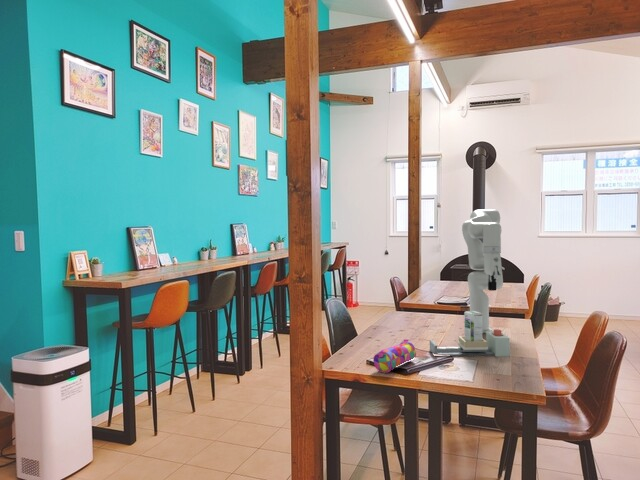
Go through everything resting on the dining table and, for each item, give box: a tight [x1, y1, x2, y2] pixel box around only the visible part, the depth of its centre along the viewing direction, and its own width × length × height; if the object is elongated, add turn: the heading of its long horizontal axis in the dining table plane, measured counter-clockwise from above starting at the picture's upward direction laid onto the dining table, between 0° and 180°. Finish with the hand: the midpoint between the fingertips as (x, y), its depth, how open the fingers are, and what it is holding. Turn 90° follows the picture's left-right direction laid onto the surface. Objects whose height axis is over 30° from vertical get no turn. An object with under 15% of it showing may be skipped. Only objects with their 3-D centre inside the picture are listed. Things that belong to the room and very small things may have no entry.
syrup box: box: [463, 310, 483, 341], centre depth 202 cm, size 6×6×14 cm
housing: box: [485, 330, 511, 357], centre depth 202 cm, size 12×6×8 cm, turn 179°
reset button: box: [493, 328, 502, 336], centre depth 202 cm, size 3×3×7 cm
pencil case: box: [372, 339, 417, 374], centre depth 186 cm, size 22×9×9 cm, turn 142°
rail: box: [429, 339, 496, 358], centre depth 202 cm, size 10×26×5 cm, turn 89°
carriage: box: [457, 335, 488, 352], centre depth 202 cm, size 10×10×5 cm
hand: (492, 290), depth 207 cm, fingers closed
